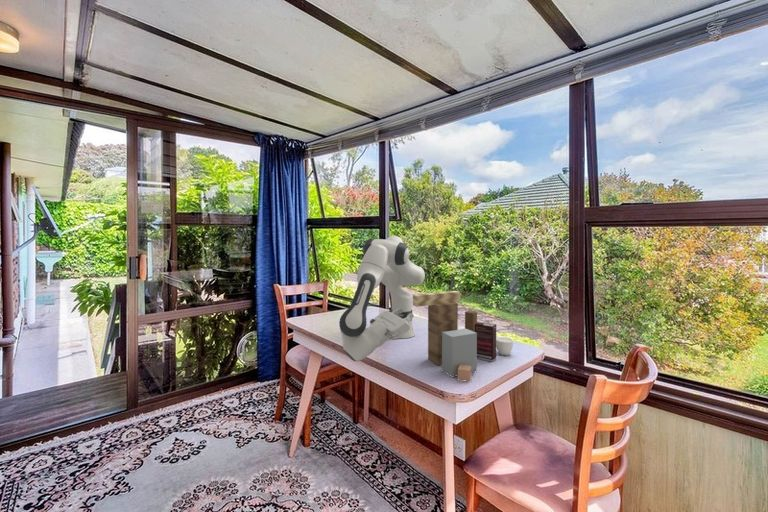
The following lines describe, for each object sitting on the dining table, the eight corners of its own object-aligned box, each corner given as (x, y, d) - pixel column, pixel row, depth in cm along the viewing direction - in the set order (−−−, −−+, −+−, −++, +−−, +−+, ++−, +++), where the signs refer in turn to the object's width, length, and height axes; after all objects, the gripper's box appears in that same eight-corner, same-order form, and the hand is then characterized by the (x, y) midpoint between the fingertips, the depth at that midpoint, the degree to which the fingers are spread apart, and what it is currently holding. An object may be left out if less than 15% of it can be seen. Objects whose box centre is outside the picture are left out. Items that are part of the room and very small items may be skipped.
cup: (494, 355, 153) (494, 340, 152) (497, 348, 161) (497, 334, 161) (511, 357, 149) (512, 343, 149) (514, 350, 158) (514, 337, 157)
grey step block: (452, 376, 130) (452, 336, 129) (441, 370, 136) (442, 332, 135) (476, 371, 134) (476, 333, 133) (465, 365, 141) (465, 328, 140)
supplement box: (496, 359, 148) (497, 324, 147) (492, 362, 144) (493, 326, 143) (478, 354, 153) (478, 321, 152) (473, 357, 149) (474, 323, 148)
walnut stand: (437, 365, 140) (438, 305, 139) (428, 359, 148) (428, 302, 146) (457, 362, 144) (457, 303, 143) (446, 355, 152) (447, 300, 150)
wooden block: (468, 352, 157) (468, 314, 155) (459, 349, 160) (460, 313, 158) (477, 347, 163) (477, 311, 162) (468, 345, 166) (469, 310, 165)
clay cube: (457, 380, 127) (457, 368, 126) (459, 375, 131) (459, 364, 131) (469, 382, 125) (469, 370, 125) (471, 377, 129) (471, 366, 129)
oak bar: (416, 306, 137) (416, 295, 137) (412, 305, 140) (412, 294, 140) (460, 301, 146) (460, 291, 146) (455, 300, 149) (455, 290, 149)
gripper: (387, 332, 123) (415, 311, 127) (368, 319, 142) (393, 301, 146) (395, 345, 125) (423, 324, 129) (375, 331, 143) (399, 312, 148)
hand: (407, 311), depth 138 cm, fingers open, 8 cm apart
